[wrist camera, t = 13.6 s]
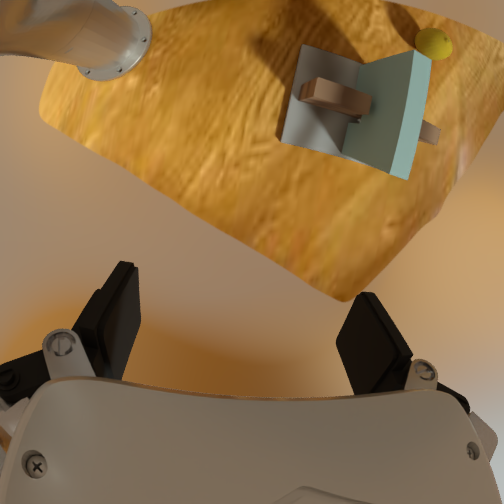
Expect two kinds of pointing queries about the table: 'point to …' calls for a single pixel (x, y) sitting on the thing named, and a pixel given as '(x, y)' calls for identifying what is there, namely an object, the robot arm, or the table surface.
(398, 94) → the notched plate
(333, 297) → the table surface
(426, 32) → the lemon
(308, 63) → the base
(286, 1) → the table surface
